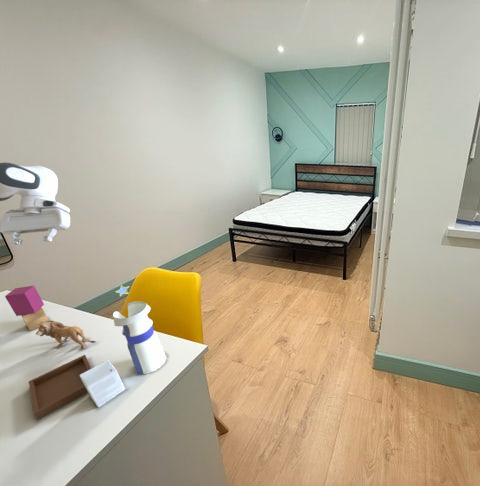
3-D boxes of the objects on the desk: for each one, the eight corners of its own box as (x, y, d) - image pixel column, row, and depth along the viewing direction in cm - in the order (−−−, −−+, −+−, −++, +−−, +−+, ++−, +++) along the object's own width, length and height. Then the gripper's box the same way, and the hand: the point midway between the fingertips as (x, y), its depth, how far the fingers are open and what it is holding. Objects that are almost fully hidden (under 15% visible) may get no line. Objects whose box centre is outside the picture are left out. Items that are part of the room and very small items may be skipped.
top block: (16, 316, 87) (4, 296, 84) (26, 307, 92) (15, 288, 88) (35, 313, 89) (24, 293, 86) (44, 304, 93) (34, 285, 90)
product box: (117, 378, 72) (108, 358, 69) (126, 389, 68) (117, 369, 66) (89, 395, 67) (78, 374, 64) (97, 408, 64) (86, 387, 61)
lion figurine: (41, 350, 81) (28, 328, 77) (57, 338, 86) (45, 316, 82) (90, 349, 81) (79, 326, 78) (102, 336, 86) (92, 314, 83)
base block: (30, 330, 89) (22, 316, 87) (26, 325, 92) (18, 311, 90) (50, 322, 93) (42, 308, 91) (46, 317, 96) (39, 304, 93)
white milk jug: (125, 371, 74) (93, 297, 64) (152, 349, 81) (127, 280, 71) (147, 379, 71) (117, 304, 61) (172, 355, 79) (150, 285, 69)
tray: (32, 386, 70) (28, 381, 69) (87, 359, 78) (84, 354, 77) (37, 419, 62) (33, 414, 61) (99, 385, 70) (96, 380, 69)
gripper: (-4, 206, 93) (-12, 243, 89) (61, 201, 96) (57, 236, 92) (13, 214, 99) (7, 248, 95) (75, 208, 102) (71, 242, 98)
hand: (32, 242), depth 93 cm, fingers open, 8 cm apart
